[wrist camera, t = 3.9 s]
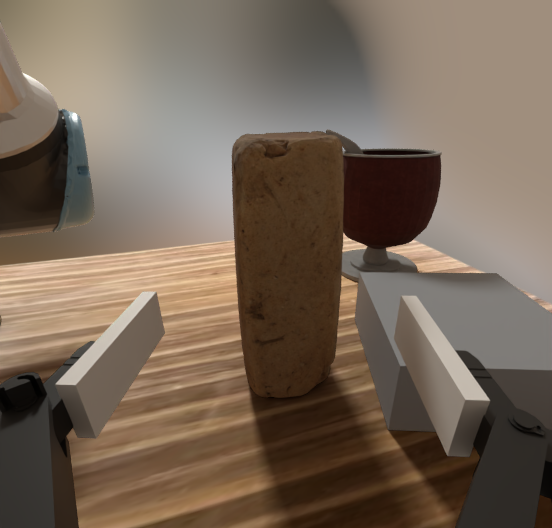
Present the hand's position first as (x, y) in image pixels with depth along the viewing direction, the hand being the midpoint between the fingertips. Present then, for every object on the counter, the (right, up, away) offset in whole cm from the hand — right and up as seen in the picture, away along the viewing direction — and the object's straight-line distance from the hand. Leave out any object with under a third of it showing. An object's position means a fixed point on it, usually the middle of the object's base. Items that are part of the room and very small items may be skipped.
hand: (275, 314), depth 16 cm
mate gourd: (+15, +2, +31) cm, 35 cm away
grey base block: (+16, -7, +11) cm, 20 cm away
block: (+1, -7, +13) cm, 14 cm away
